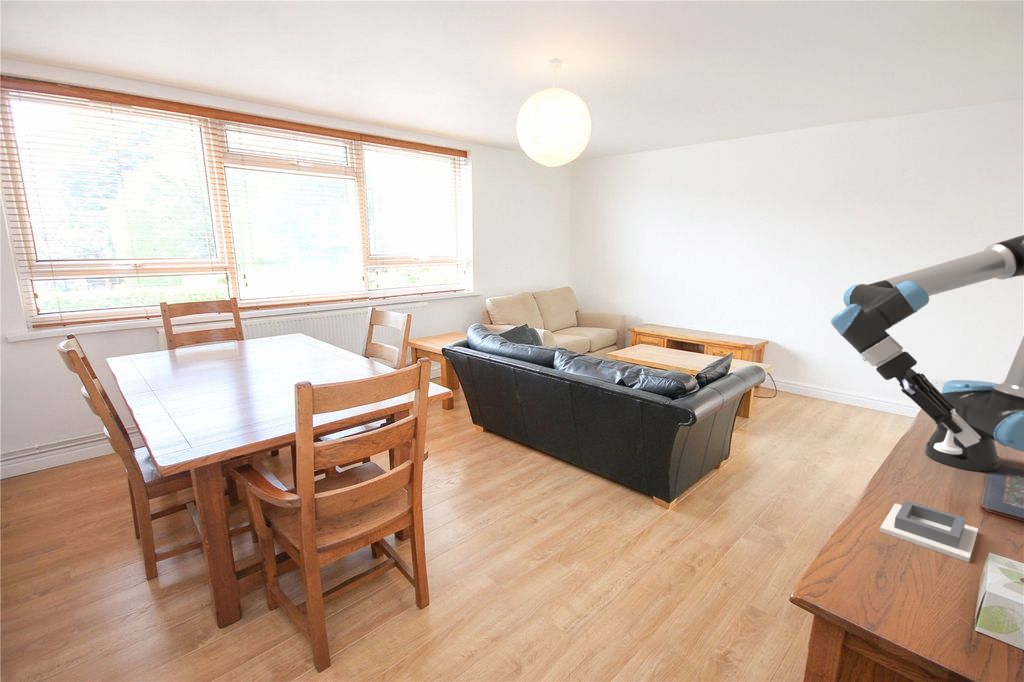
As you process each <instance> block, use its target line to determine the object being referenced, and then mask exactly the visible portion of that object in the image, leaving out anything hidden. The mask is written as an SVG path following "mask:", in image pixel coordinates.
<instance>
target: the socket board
mask: <svg viewBox="0 0 1024 682" xmlns="http://www.w3.org/2000/svg"><path fill="white" fill-rule="evenodd" d="M966 518H967V517H963V516H960V515H958V514H953V513H950V512H947V511H944V510H940V509H938V508H934V507H931V506H927V505H924V504H919V503H918V502H913V501H911V500H907V499H905V500H904V502H903V504H899V503H894V504H893V506H892V507H891V509H890V511H889V513H888V514H887V516H886V517H885V519H884V521H883V522H882V524H881V525H880V527H879V532H880V533H884V534H886V535H889V536H891V537H895V538H898V539H901V540H903V541H906V542H908V543H912V544H914V545H917V546H920V547H923V548H926V549H929V550H932V551H935V552H938V553H940V554H944V555H946V556H949V557H951V558H954V559H957V560H960V561H963V562H966V563H970V560H971V557H972V554H973V553H972V552H973V549H974V546H975V543H976V540H977V536H978V533H979V532H978V531H979V528H978V527H975V526H971V525H968V524H966Z"/></svg>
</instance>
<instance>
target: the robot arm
mask: <svg viewBox="0 0 1024 682" xmlns="http://www.w3.org/2000/svg"><path fill="white" fill-rule="evenodd" d="M1021 276H1023V277H1024V234H1023V235H1019V236H1015V237H1013V238H1009V239H1006V240H1003V241H999V242H995V243H993V244H990V245H988V246H986V247H985V248H984V250H983V251H979V252H975V253H972V254H969V255H965V256H962V257H958V258H954V259H952V260H948V261H946V262H945V261H944V262H942V263H938V264H934V265H931V266H927V267H924V268H921V269H917V270H914V271H911V272H907V273H904V274H903V273H902V274H900V275H897V276H893V277H891V278H887V279H883V280H880V281H877V282H876V281H875V282H872V283H869V284H866V283H865V284H864V283H859V284H854V285H852V286H850V287H848V288H847V289H846V291H844V294H843V297H842V298H843V303H844V305H845V306H846V307H845V308H844V309H842V310H841V311H839V312H837V314H835V315H834V316H833V317H832V318H831V320H830V324H831V325H832V326H833V328H834V329H835V330H836V331H837V332H838V334H839V335H840V336H841V337H842V338H843V339H844V340H845V341H847V342H848V343H849V344H850V345H851V346H852V347H853V349H855V350H856V351H857V352H858V353H859V354H860V355H861V356H862V361H864V362H868V363H869V364H870V366H872V367H876V368H875V369H876V370H875V371H876V373H878V374H879V375H880V376H881V377H882V379H884V380H886V381H890V380H892V379H893V378H895V379H896V381H897V382H899V387H901V388H900V390H901V392H902V393H903V394H904V395H905V396H907V397H908V398H910V399H911V400H912V401H913V403H915V404H916V405H917V406H918V407H919V408H921V410H922V411H924V412H925V414H927V415H928V416H929V417H930V419H932V420H933V421H934V423H935V424H936V425H937V426H936V429H935V430H934V432H933V433H932V435H931V437H930V438H929V440H928V441H927V442H926V444H925V449H924V454H925V455H926V456H927V457H928V458H929V459H932V460H934V461H936V462H939V463H941V464H943V465H946V466H950V467H954V468H957V469H962V470H963V469H964V470H970V471H977V472H992V471H996V470H998V469H999V467H1000V456H999V455H998V452H997V447H996V443H998V444H1000V445H1001V446H1004V447H1008V448H1010V449H1013V450H1015V451H1019V452H1024V335H1023V337H1022V339H1021V341H1020V344H1019V346H1018V349H1017V351H1016V353H1015V356H1014V358H1013V361H1012V362H1011V365H1010V367H1009V370H1008V372H1007V375H1006V376H1005V380H1004V381H1003V382H1001V383H996V382H990V381H983V380H971V379H969V380H967V379H966V380H965V379H959V380H958V379H955V380H954V379H953V380H952V379H951V380H947V381H946V382H945V383H944V384H943V386H942V390H941V392H940V390H938V389H937V388H936V387H935V386H934V385H933V384H932V382H930V380H929V379H928V378H927V377H926V375H925V374H924V373H920V372H917V371H915V370H914V369H913V367H914V366H916V365H917V364H918V361H917V360H916V359H915V358H914V357H913V356H912V355H911V354H910V353H909V352H908V351H903V350H904V347H903V346H902V345H901V344H900V343H899V342H898V341H897V340H895V338H894V337H892V336H891V335H890V333H888V332H887V331H886V330H889V329H891V328H893V326H895V325H897V324H899V323H901V322H902V321H904V320H905V319H907V318H908V317H909V318H910V316H911V315H913V314H915V313H918V311H919V310H921V309H922V308H923V307H925V306H927V305H928V304H929V302H930V296H934V295H935V296H936V295H938V294H941V293H942V294H943V293H945V292H949V291H953V290H956V289H957V290H958V289H960V288H963V287H966V286H970V285H973V284H978V283H981V282H985V281H989V280H992V279H997V280H1007V279H1010V278H1011V279H1012V278H1014V277H1021ZM952 409H956V413H957V415H955V416H956V417H958V418H959V420H958V419H957V418H956V417H955V416H954V417H952V415H951V414H952V413H951V412H950V410H951V411H952ZM948 430H949V431H950V432H951V433H952V434H953V435H954V443H955V444H956V446H958V447H960V448H961V449H962V454H948V453H944V452H941V451H938V450H936V449H934V447H933V446H934V444H935V443H942V441H944V440H945V437H946V434H947V431H948Z"/></svg>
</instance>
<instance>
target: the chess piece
mask: <svg viewBox="0 0 1024 682" xmlns="http://www.w3.org/2000/svg"><path fill="white" fill-rule="evenodd" d="M950 412H951V413H952V414H951V415H952V417H954V416H955V415H957V413H956V409H952V411H951V410H950ZM955 417H956V416H955ZM956 418H957V419H958V420H959V418H958V417H956ZM933 447H934V449H936V450H938V451H941V452H944V453H948V454H962V449H961V448H960V447H958V446H956V444H955V443H954V435H953V434H952V433H951V432H950V431H949V430H948V431H947V434H946V437H945V440H944V441H942V443H935V444H934V446H933Z"/></svg>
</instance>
